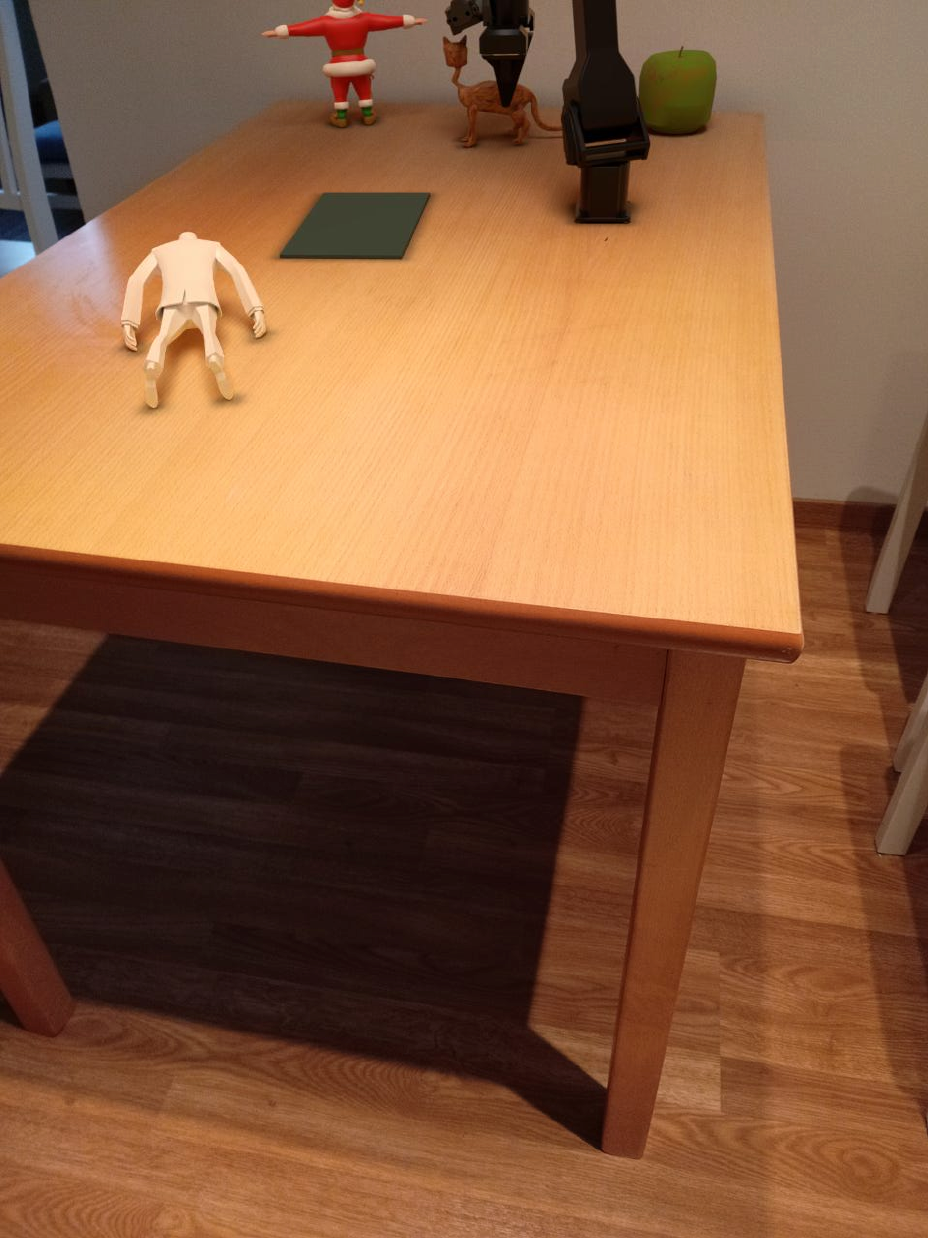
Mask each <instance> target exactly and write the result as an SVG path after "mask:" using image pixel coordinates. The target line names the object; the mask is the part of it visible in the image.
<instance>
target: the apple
mask: <svg viewBox="0 0 928 1238" xmlns="http://www.w3.org/2000/svg"><path fill="white" fill-rule="evenodd" d="M717 72H718V71H717V61H716V59H715V58H714V57H713V56H712V55H711V53H709V52H708V51H705V50H702V49H684V45H681V47H680V49H676V50H666V51H662V52H656V53H653V54H651V55H650V56H649V57H648V58H646V60H645V61H644V62H642V65H641V69H640V73H639V77H638V98H639V101H640V105H641V109H642V112H643V116H644V120H645V124H646V127H649V128H650V129H651V130H653V131H654V133H655V132H656V133H659V134H663V135H664V134H666V135H683V134H684V135H685V134H692V133H694V132H696V131H697V130H698V129H700V128H701V127H703V126H704V125H705V124H707V123H708V121H709V120H711V117H712V112H713V111H712V110H713V105H714V100H715V93H716V87H717V82H718V81H717V80H718V75H717V74H718V73H717Z"/></svg>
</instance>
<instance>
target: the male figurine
mask: <svg viewBox="0 0 928 1238" xmlns="http://www.w3.org/2000/svg"><path fill="white" fill-rule="evenodd" d="M219 270H220V271H221V270H222V271H223V272H224V273H225V274H226V275H227V276H229V277H230V278H231V279H232V280H233V283H234V286H235V289H236V292H237V294H238V297H239V299H240V302H241V304H242V307H243V309H244V312H245V314H246V316H247V317H248V318H249V319H251V320H253V321H254V325H253V327H252V329H253V330H254V332H253V333H254V334H255V335H254V337H255V338H261V337H262V336H263V335H264V334H265V333H266V332H267V322H266V319H265V315H264V314H265V313H266V312H265V311H266V309H265V306H264V304H263V302H262V300H261V298H260V296H259V294H258V291H257V290H256V288H255V285H254V284H253V282H252V280H251V278H250V276H249V274H248V273H247V271H246V269H245V267H244V266H243V265H242V264H241V263H239V261H238V260H237V259H236V258H235V257H234V256H233V254H231V253H230V252H229V251H228V250H227V249H225V248H224V247H223V245H221V242H219V241H214V240H208V239H203V238H198V236H197V235H196V234H195V233H194V232H191V231H185V232H182V233H180V234H179V236H178V239H176V240H171V241H169V242H166V243H163V244H160V245H158V246H155V247H153V248H151V251H150V253H148V255H147V256H146V257H145V258H144V259H143V261H142V262H141V263H139V265H138V267H136V269H135V271H134V272H133V273H132V274H131V275H130V276H129V278H128V281H127V285H126V290H125V295H124V300H123V305H122V306H123V307H122V312H121V318H120V325H121V326H120V328H122V329H123V332H122V334H123V335H122V336H123V339H124V342H125V346H126V347H127V348H129V349H130V350H132V351H135V352H136V351H137V350H138V348H137V339H136V332H138V331H139V330H140V328H141V319H142V311H143V303H144V293H145V289H146V288H147V287H148V286H149V284H150V283H151V282H152V281H153V280H154V278H155V277H157V276H159V277H161V282H162V288H161V289H162V290H161V297H160V301H159V303H158V306H157V308H156V310H155V312H154V317H155V321H156V322H157V323H158V324H160V330H159V333H158V335H156V337H155V338H154V339H153V341H152V343H151V345H150V348H149V350H148V353H147V355H146V356H145V358H144V361H143V363H142V365H141V366H140V369H141V370H142V371H143V372H144V374H145V389H144V396H145V397H144V398H145V402H146V404H147V405H148V406H149V407H150V408H153V409H155V408H157V407H158V404H159V393H158V390H157V387H156V379H159V378H160V376H161V374H162V373H163V371H164V365H165V357H166V356H165V355H166V351H167V347H168V345H170V344H171V343H173V342H174V341H175V340H176V339H178V337H179V336H181V335H182V334H183V332H185V331H186V330H188V329H198V330H199V331H200V333H201V335H202V336H203V345H204V358H205V359H204V360H205V366H206V367H207V368H208V369H209V370H211V371H212V372H213V373H214V376H215V379H216V384H217V387H218V389H219V391H220V393H221V395H222V396H223V397H224V398H225V399H226V400H229V401H230V400H231V399H232V398H233V396H234V391H233V387H232V385H231V382H230V381H229V380H228V378H227V376H226V373H225V372H224V366H225V359H226V358H225V355H224V352H223V348H222V346H221V343H220V341H219V339H218V337H217V334H216V328H217V320H218V319H221V318H222V316H223V311H222V308H221V306H220V303H219V300H218V296H217V293H216V289H215V281H216V278H217V274H218V272H219Z"/></svg>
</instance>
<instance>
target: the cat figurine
mask: <svg viewBox="0 0 928 1238" xmlns="http://www.w3.org/2000/svg"><path fill="white" fill-rule="evenodd" d="M467 43H468V37H467V34H464V36H463V37H462V38H461V39H460V40H459V41H453V42H452V41H450V40H449V38H448V37H447V36H445V35H443V36H442V45H443V46H442V50H443V54H444V60H445V64H446V66H447V67H449V68H454V69H455V70H454V72H453V75H452V77H451V82H452V84H453V85H455V86H456V87H457V98H458V100H459V102H460V103H461V104H462V105H463V106H464V107H465V108H466V115H467V119H468V122H469V129H468V131H467V133H466V136H464V137H462V138H460V141H462V142H466V143H464V144H462V147H464V148H469V147H471V146H473V145H475V143H476V141H477V137H478V128H477V118H478V115H479V112H481V113H488V114H496V115H503V116H508V117H509V119H510V120H511V121H512V122H513V123H514V124H513V128H510V129H508V130H507V133H508V134H511V135H513V134H514V135H515V134H518V136H517V138H515V139H512V141H511V142H512V143H514V144H520V143H521V144H522V142H523V140H524V138H525V137H526V136H527V133H528V132H529V130H530V128H531V125H532V124H531V121H530V120H529V119H528V117H527V112H526V111H525V110H524V109H525V108H526V107H527V106H528V104H530V110H531V116H532V118H533V121H534V122H535V124H536V125H537V127H539V128H540V129H541V130H544V131H547V132H562V125H551V124H547V123H546V122H544V121H543V120H542V119H541V117H540V114H539V104H538V99H537V97H536V94H535V93H534V92H533V91H532V90H531V89H530V88H528V87H526V86H524V85H523V84H521V83H519V82H518V83H517V86H516V89H515V92H514V95H513V98H512V101H511V105H510V107H502V105H501V100H500V95H499V91H498V86H497V82H496V80H483V81H479V82H478V83H475V84H473V85H471V86H470V85H465V84H463V83H460V82H459V79H460V76H461V72H462V68H463V67H465V66H467V64H468V49H469V48H468V46H467Z"/></svg>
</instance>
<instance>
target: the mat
mask: <svg viewBox="0 0 928 1238" xmlns="http://www.w3.org/2000/svg"><path fill="white" fill-rule="evenodd" d="M430 197H431V192H322V194H321V195H320V196H319V197H318V200H317V201H316V202H315V204H314V205H313V207H312V208H311V209H310V210H309V212H308V213H307V215H306V216H305V217H304V219H303V220H302V222H301V224H299V226H298V228H297V229H296V230H295V232H294V234H292V236H291V237H290V239H289V240H288V242H287V243H286V245H285V246H284V247H283V249H282V250H281V252H280V253H279V258H280V259H365V260H366V259H368V260H369V259H372V260H375V259H378V260H379V259H381V260H382V259H383V260H384V259H386V260H402V259H403V257H404V255H405V253H406V250H407V248H408V246H409V244H410V242H411V240H412V237H413V235H414V233H415V231H416V228H417V226H418V224H419V221H420V219H421V217H422V216H423V213H424V210H425V208H426V206H427V204H428V201H429V199H430Z"/></svg>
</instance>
